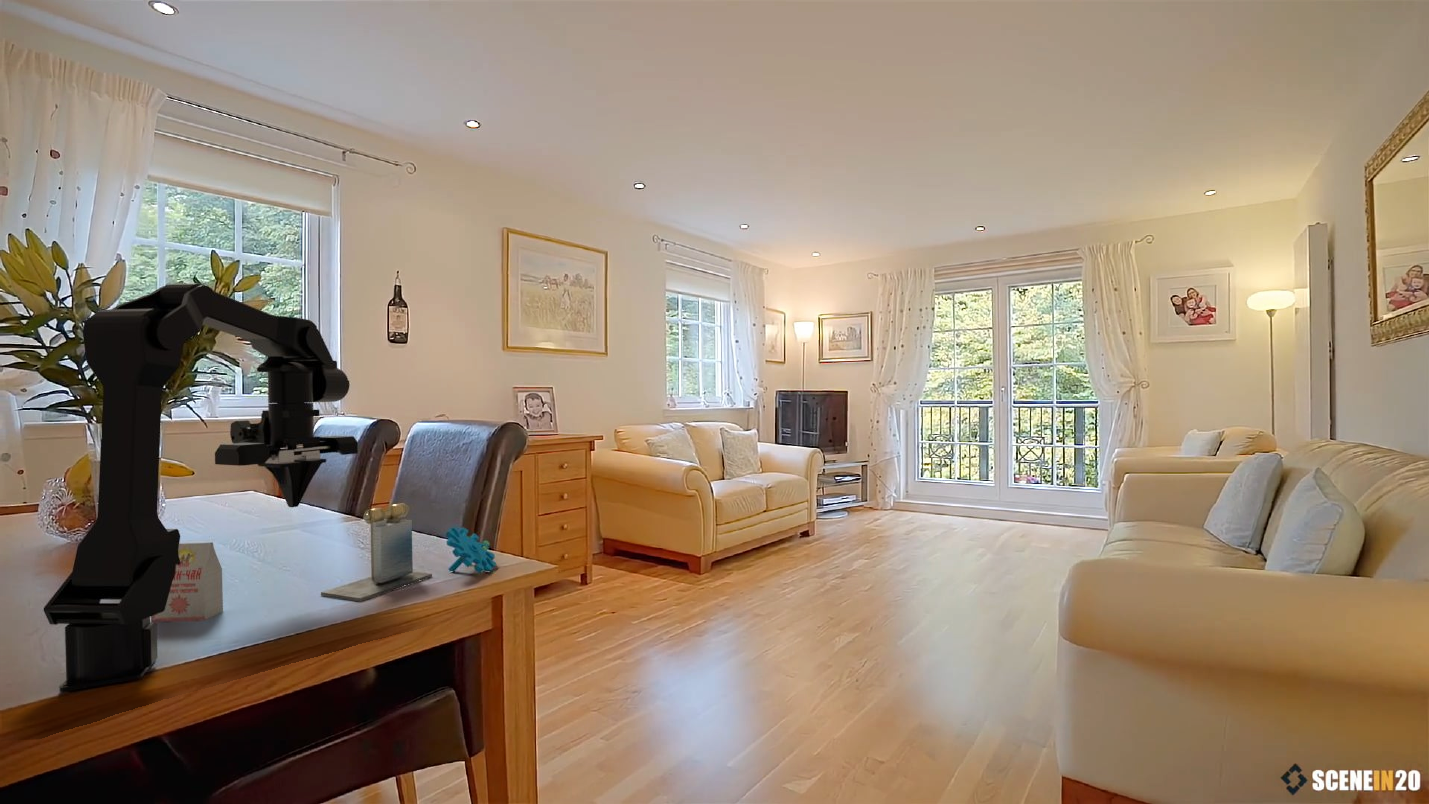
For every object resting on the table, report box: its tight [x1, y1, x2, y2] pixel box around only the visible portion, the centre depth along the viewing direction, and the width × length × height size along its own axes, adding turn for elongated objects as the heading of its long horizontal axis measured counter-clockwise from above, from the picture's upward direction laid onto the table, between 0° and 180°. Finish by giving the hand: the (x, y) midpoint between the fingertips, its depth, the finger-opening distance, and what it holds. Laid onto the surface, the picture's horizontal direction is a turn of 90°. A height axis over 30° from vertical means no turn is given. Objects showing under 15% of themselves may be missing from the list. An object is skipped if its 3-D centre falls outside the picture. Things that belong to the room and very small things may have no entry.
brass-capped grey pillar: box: [363, 507, 414, 583], centre depth 106 cm, size 7×4×11 cm, turn 158°
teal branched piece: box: [444, 525, 497, 574], centre depth 112 cm, size 11×6×10 cm
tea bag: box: [150, 541, 224, 623], centre depth 91 cm, size 4×7×10 cm, turn 94°
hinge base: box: [320, 502, 433, 602], centre depth 104 cm, size 14×8×12 cm, turn 158°
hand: (293, 506), depth 100 cm, fingers closed
